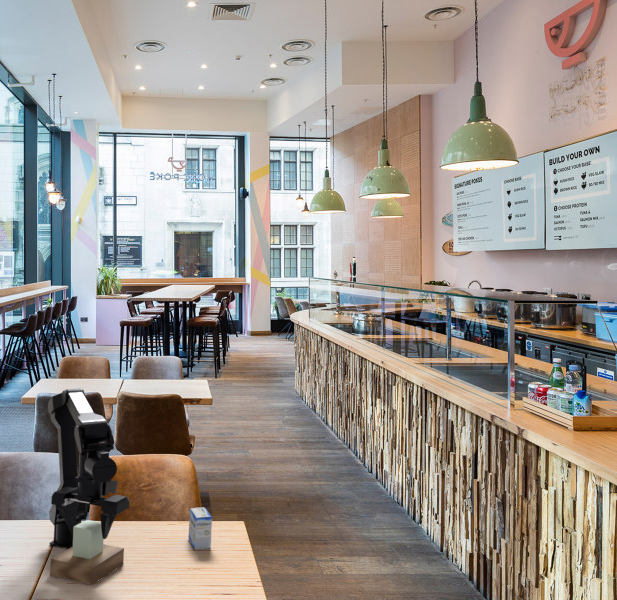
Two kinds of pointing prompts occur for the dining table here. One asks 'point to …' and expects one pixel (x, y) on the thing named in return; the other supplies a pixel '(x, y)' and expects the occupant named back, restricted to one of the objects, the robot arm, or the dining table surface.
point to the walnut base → (86, 565)
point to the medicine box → (200, 528)
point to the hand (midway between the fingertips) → (88, 535)
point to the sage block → (87, 539)
